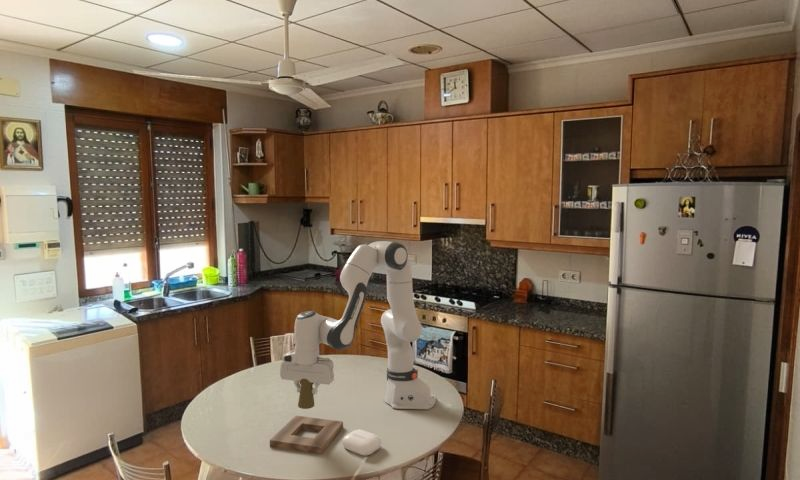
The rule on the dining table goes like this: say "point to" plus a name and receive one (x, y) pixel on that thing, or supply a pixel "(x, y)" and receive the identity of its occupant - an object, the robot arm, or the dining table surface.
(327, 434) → the walnut dock
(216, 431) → the dining table surface
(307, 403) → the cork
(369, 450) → the earbud case
